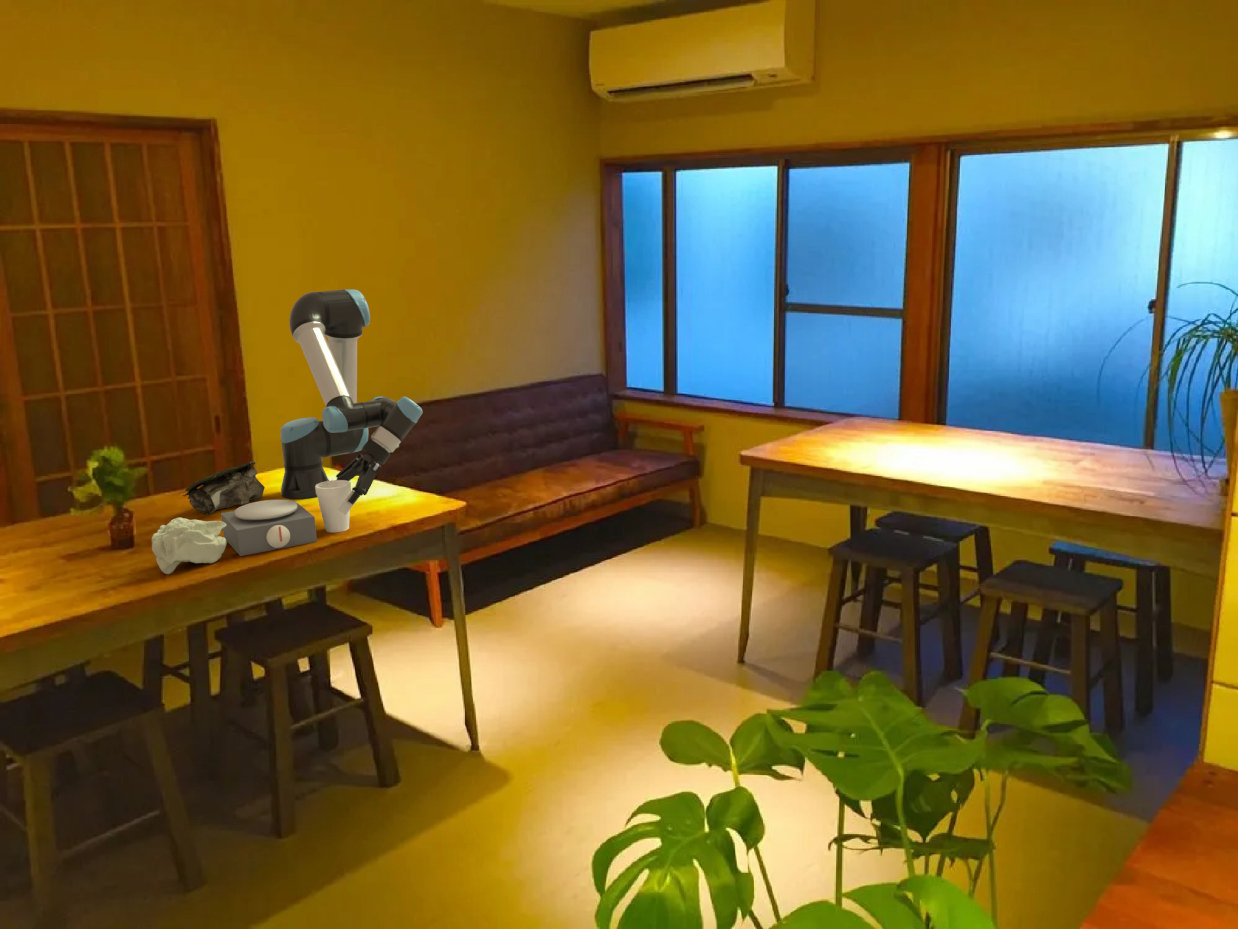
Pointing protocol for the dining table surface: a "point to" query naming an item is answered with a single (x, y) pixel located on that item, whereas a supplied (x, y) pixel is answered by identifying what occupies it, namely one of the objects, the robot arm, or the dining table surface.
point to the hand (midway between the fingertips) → (333, 506)
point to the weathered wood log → (225, 489)
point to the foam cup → (333, 504)
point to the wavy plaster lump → (188, 543)
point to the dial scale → (268, 526)
